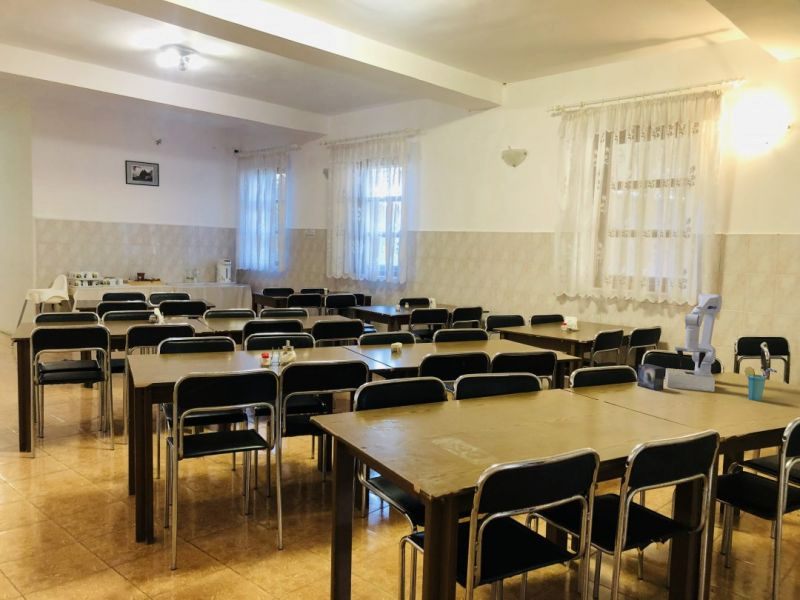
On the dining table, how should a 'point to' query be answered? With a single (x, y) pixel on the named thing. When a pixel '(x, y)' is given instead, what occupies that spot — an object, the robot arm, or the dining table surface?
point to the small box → (651, 376)
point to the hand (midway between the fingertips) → (690, 367)
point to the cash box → (690, 380)
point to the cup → (756, 383)
